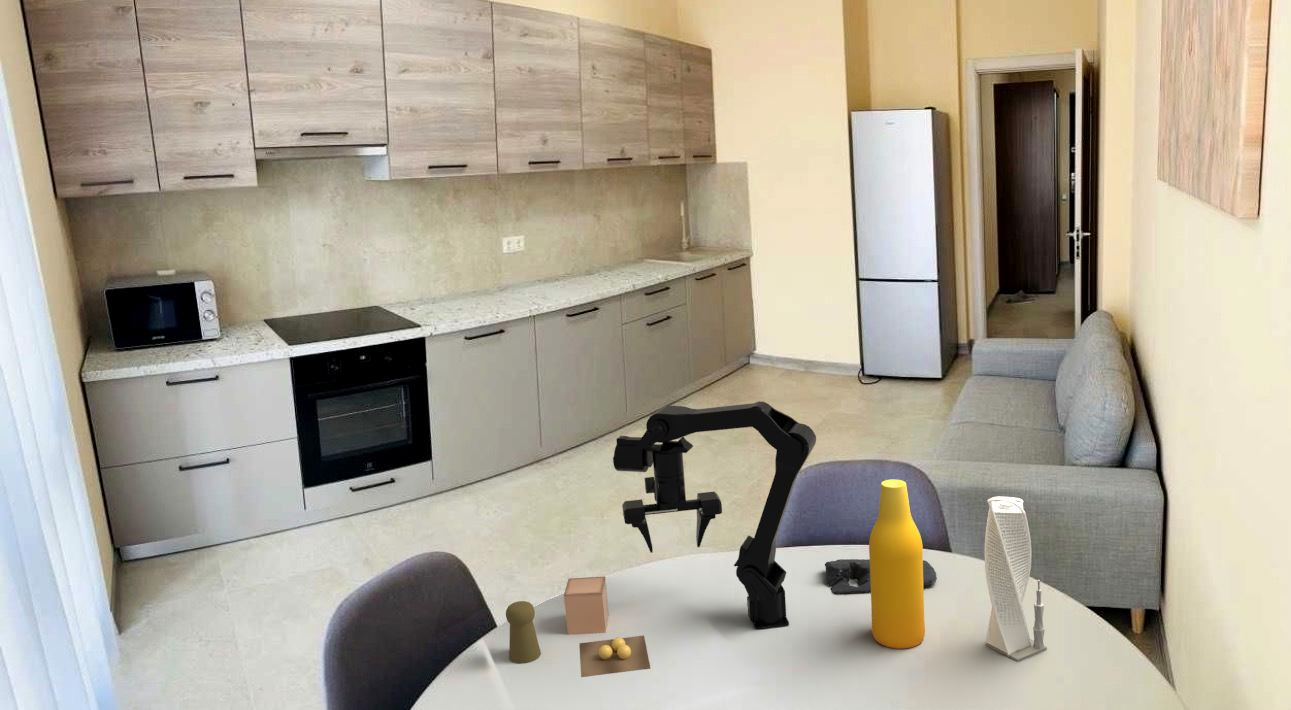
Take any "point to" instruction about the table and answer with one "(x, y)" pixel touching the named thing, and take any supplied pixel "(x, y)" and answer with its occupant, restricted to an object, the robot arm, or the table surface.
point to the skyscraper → (1010, 580)
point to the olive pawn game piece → (522, 633)
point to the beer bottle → (896, 571)
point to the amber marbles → (618, 646)
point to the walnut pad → (613, 657)
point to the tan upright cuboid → (586, 605)
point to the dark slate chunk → (861, 575)
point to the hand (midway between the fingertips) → (674, 549)
